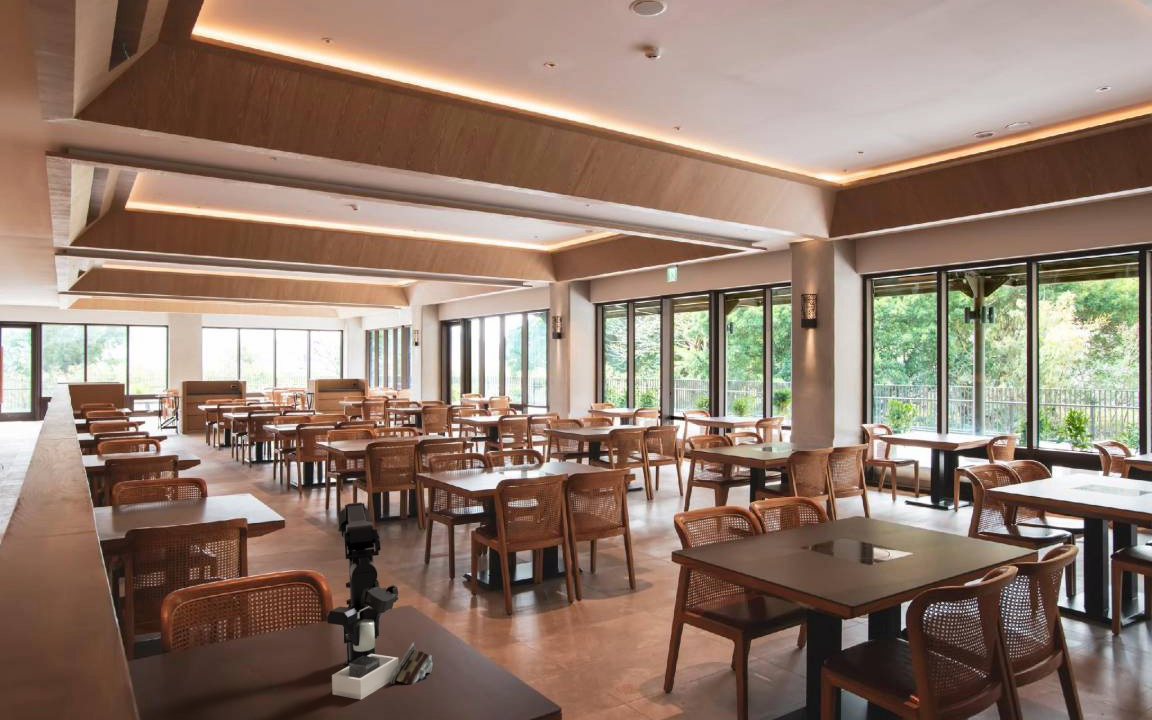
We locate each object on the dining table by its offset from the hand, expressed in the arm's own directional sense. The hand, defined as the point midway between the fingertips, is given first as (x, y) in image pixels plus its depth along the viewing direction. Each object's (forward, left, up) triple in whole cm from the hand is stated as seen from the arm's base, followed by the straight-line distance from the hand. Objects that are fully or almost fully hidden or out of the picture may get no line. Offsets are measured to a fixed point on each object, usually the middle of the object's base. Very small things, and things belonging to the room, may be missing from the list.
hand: (364, 641), depth 180 cm
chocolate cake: (+8, +8, -11) cm, 16 cm away
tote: (0, 0, -11) cm, 11 cm away
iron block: (0, 0, -10) cm, 10 cm away
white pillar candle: (0, 0, -1) cm, 1 cm away
